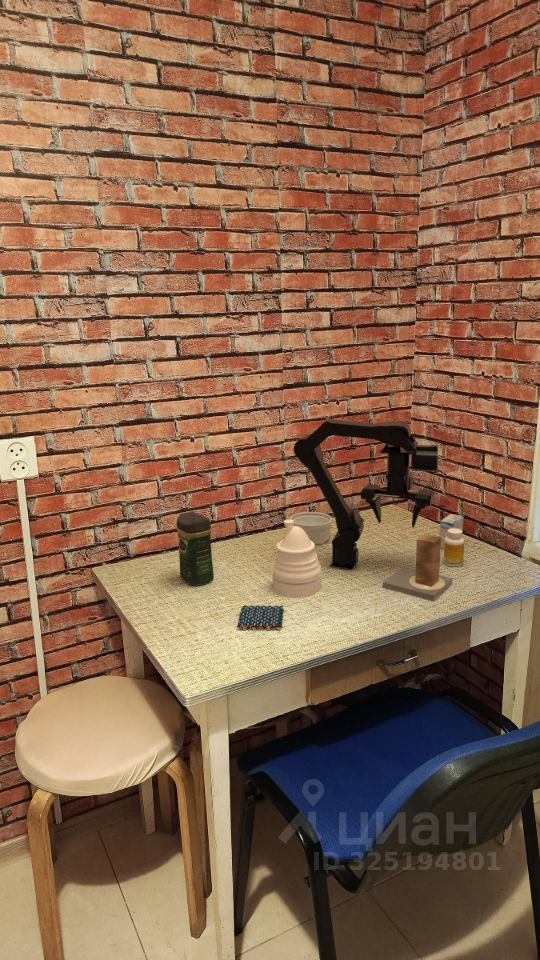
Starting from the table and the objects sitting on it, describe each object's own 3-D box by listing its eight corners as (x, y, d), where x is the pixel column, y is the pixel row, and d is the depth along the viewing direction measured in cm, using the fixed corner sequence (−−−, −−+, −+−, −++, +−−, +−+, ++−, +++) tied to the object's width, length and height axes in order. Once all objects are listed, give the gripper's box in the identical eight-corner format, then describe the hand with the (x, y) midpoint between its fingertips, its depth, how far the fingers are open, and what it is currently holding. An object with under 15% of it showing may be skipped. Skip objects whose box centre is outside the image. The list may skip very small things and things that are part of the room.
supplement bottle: (463, 567, 178) (465, 534, 175) (443, 566, 179) (445, 533, 176) (462, 559, 183) (464, 527, 180) (442, 558, 184) (444, 526, 182)
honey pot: (265, 593, 166) (263, 528, 161) (282, 573, 177) (280, 511, 173) (313, 600, 162) (313, 533, 157) (327, 579, 173) (327, 516, 168)
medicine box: (448, 540, 198) (449, 513, 196) (462, 542, 196) (463, 515, 193) (438, 548, 192) (439, 520, 190) (452, 551, 189) (454, 523, 187)
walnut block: (415, 582, 166) (416, 539, 162) (422, 576, 169) (424, 533, 166) (431, 587, 163) (433, 542, 160) (438, 580, 166) (441, 537, 163)
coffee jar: (218, 581, 174) (215, 516, 169) (192, 589, 169) (188, 522, 164) (201, 569, 181) (197, 507, 176) (176, 576, 177) (171, 513, 172)
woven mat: (241, 611, 158) (240, 603, 158) (284, 611, 157) (284, 603, 157) (236, 632, 148) (235, 624, 148) (282, 632, 147) (282, 624, 147)
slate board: (382, 587, 168) (382, 581, 167) (403, 571, 177) (403, 565, 176) (433, 601, 159) (433, 594, 159) (452, 583, 169) (452, 577, 168)
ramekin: (310, 528, 211) (310, 508, 209) (341, 538, 201) (341, 517, 200) (281, 539, 202) (280, 518, 200) (311, 550, 193) (311, 528, 191)
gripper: (439, 464, 173) (437, 519, 178) (372, 459, 181) (371, 511, 185) (431, 475, 164) (428, 533, 168) (360, 469, 171) (359, 524, 176)
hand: (396, 524), depth 175 cm, fingers open, 9 cm apart
